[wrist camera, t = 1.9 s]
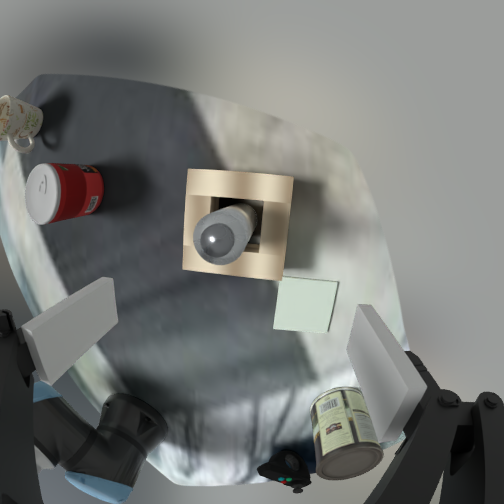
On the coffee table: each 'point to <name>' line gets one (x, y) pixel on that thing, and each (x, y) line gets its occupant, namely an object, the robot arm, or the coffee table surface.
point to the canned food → (62, 192)
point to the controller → (286, 470)
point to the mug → (19, 122)
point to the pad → (304, 304)
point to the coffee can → (343, 435)
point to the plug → (224, 233)
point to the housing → (244, 187)
